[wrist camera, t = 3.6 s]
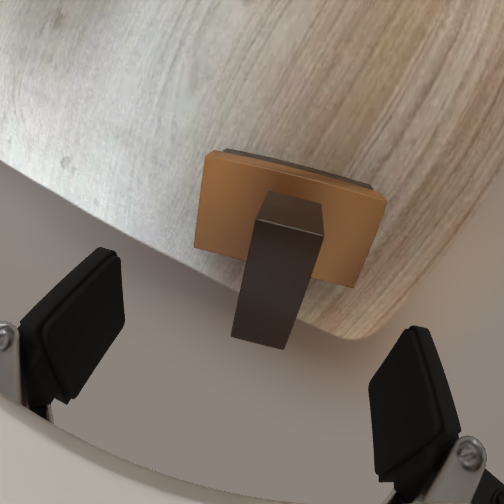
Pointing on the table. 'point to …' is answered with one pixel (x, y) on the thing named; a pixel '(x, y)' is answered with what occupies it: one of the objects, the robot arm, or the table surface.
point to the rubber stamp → (283, 234)
